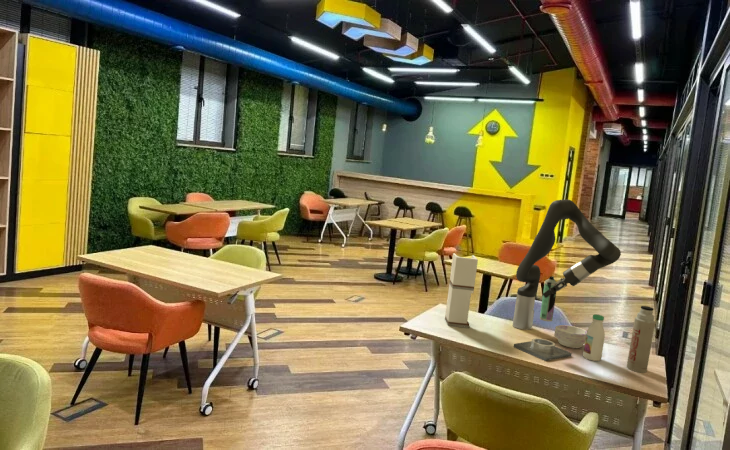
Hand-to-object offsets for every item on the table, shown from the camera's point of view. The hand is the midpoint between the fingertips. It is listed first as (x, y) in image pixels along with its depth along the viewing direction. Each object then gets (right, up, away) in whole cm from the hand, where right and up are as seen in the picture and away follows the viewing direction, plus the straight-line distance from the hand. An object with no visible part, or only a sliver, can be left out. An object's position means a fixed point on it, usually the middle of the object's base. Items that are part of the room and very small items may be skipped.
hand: (545, 294), depth 249 cm
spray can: (0, -12, +1) cm, 12 cm away
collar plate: (-1, -26, +2) cm, 26 cm away
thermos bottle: (+37, -32, -8) cm, 50 cm away
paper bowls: (+17, -27, +17) cm, 36 cm away
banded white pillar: (-35, -19, +33) cm, 52 cm away
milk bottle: (+21, -29, 0) cm, 36 cm away
